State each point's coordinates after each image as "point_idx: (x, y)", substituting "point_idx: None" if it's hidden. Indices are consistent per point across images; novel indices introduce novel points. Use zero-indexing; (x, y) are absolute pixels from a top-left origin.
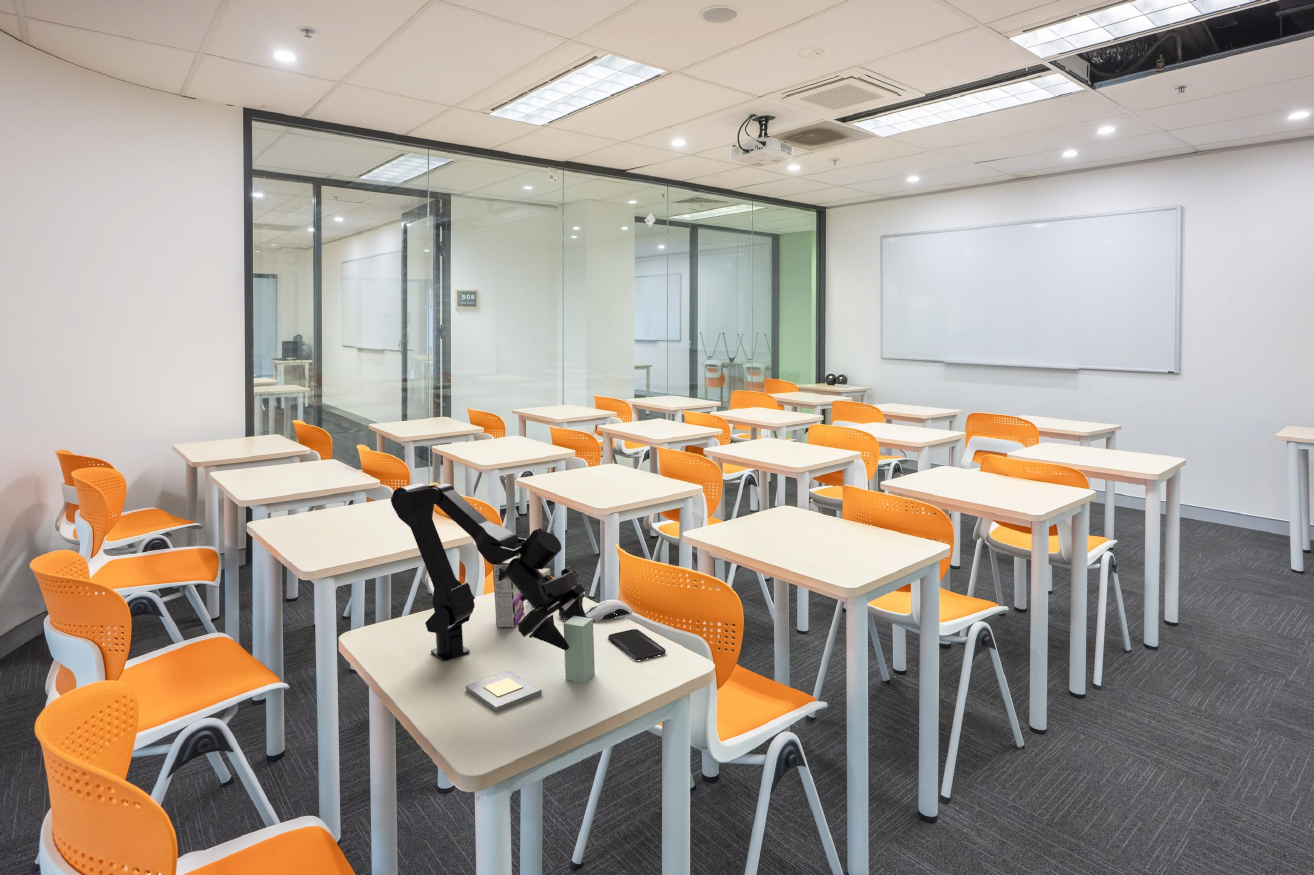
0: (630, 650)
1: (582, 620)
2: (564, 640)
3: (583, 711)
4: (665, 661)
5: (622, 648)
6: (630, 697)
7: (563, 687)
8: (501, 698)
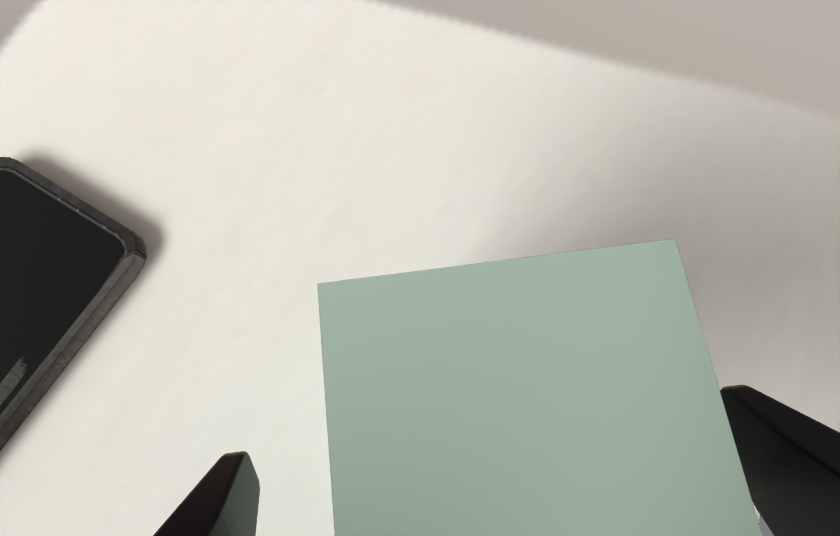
0: (40, 339)
1: (478, 392)
2: (814, 438)
3: (743, 185)
4: (101, 125)
5: (23, 403)
6: (512, 82)
7: None
8: None
